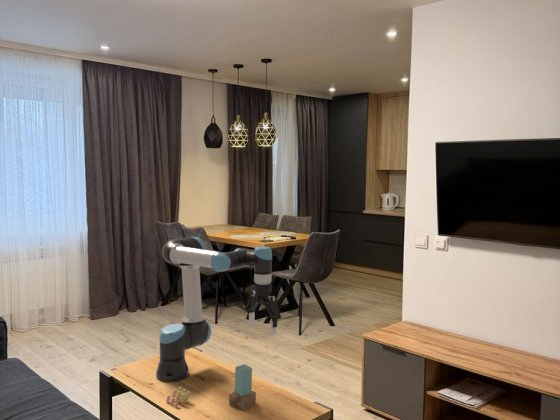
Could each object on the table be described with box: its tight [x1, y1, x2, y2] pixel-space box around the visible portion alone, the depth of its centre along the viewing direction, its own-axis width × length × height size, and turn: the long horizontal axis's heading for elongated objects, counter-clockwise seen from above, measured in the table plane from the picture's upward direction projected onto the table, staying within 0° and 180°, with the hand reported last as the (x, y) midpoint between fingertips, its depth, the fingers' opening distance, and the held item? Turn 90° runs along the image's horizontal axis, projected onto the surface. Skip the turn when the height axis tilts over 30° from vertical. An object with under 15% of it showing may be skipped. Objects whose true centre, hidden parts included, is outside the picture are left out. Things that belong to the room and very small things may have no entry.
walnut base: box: [228, 390, 257, 411], centre depth 206 cm, size 8×8×5 cm
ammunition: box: [166, 386, 191, 408], centre depth 207 cm, size 5×7×8 cm
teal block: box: [234, 363, 253, 396], centre depth 205 cm, size 5×5×11 cm
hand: (262, 330), depth 213 cm, fingers open, 13 cm apart
